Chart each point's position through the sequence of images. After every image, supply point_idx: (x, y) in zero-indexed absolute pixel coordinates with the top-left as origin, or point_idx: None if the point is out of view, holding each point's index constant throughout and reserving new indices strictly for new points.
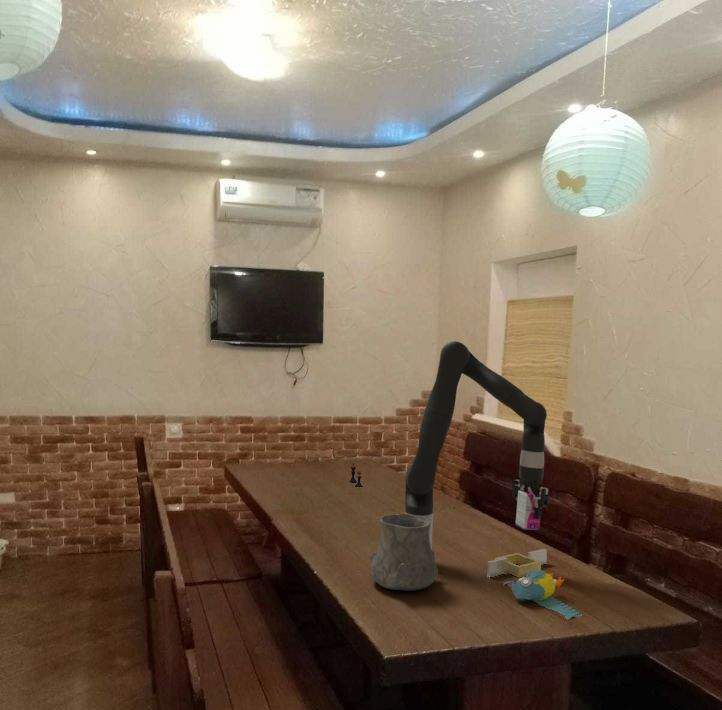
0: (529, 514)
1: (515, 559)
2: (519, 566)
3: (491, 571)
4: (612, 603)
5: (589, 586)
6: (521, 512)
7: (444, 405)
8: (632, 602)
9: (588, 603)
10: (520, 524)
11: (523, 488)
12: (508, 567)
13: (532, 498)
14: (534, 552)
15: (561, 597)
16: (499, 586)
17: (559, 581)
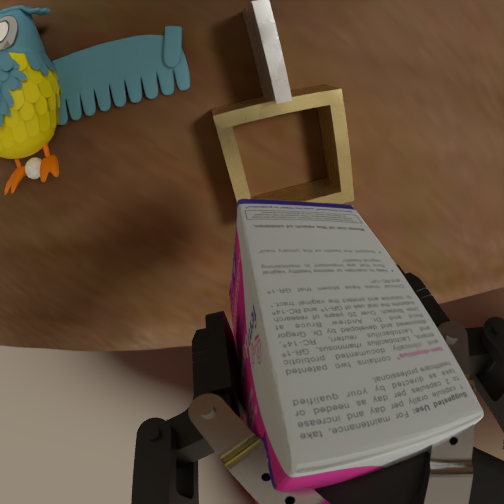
0: (245, 305)
1: (333, 177)
2: (223, 124)
3: (247, 15)
4: (19, 274)
5: (116, 284)
6: (320, 268)
7: None
8: (31, 312)
9: (12, 221)
10: (294, 211)
11: (432, 489)
12: (265, 100)
13: (258, 458)
14: None
15: None
16: (160, 9)
17: (10, 178)
